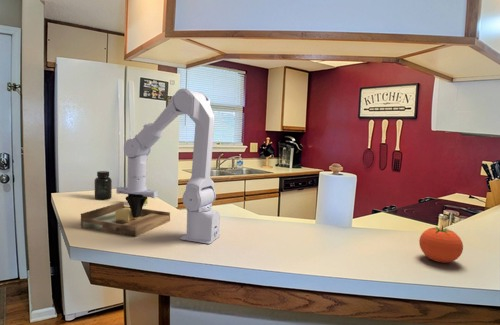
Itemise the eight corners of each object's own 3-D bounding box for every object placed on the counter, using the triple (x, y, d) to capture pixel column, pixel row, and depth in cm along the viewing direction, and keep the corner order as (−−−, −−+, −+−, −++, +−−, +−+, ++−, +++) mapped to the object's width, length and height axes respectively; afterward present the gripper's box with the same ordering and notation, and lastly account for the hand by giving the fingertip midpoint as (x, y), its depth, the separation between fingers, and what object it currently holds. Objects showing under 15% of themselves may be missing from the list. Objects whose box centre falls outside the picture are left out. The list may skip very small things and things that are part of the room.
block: (137, 217, 109) (138, 209, 109) (128, 221, 104) (128, 212, 104) (125, 215, 110) (125, 207, 110) (115, 218, 106) (115, 210, 105)
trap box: (169, 220, 113) (170, 208, 113) (135, 237, 95) (135, 222, 95) (122, 213, 120) (122, 201, 119) (81, 227, 101) (80, 213, 101)
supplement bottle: (98, 196, 145) (98, 170, 144) (113, 197, 146) (113, 171, 145) (91, 200, 139) (91, 172, 137) (108, 200, 139) (108, 173, 138)
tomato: (445, 254, 93) (448, 220, 92) (470, 269, 83) (474, 232, 82) (410, 253, 93) (413, 219, 92) (431, 268, 82) (435, 230, 81)
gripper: (163, 176, 106) (162, 216, 108) (126, 172, 111) (126, 211, 112) (150, 179, 100) (149, 222, 101) (111, 175, 104) (111, 216, 105)
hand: (136, 217), depth 106 cm, fingers closed
